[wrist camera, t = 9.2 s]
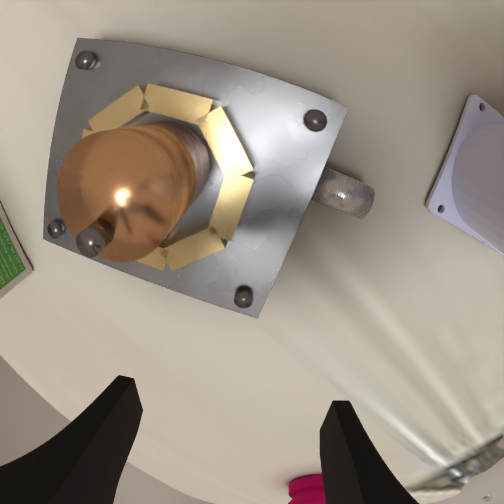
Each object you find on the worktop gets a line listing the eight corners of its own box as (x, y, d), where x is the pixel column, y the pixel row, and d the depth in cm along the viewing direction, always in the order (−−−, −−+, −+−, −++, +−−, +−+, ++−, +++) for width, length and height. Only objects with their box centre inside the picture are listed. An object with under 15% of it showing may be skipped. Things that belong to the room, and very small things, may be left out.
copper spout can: (138, 109, 13) (52, 117, 7) (224, 139, 14) (184, 164, 8) (114, 191, 15) (34, 244, 9) (191, 223, 15) (142, 297, 9)
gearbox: (386, 131, 15) (414, 137, 12) (303, 308, 20) (307, 346, 17) (100, 44, 14) (64, 34, 10) (64, 224, 19) (32, 246, 15)
